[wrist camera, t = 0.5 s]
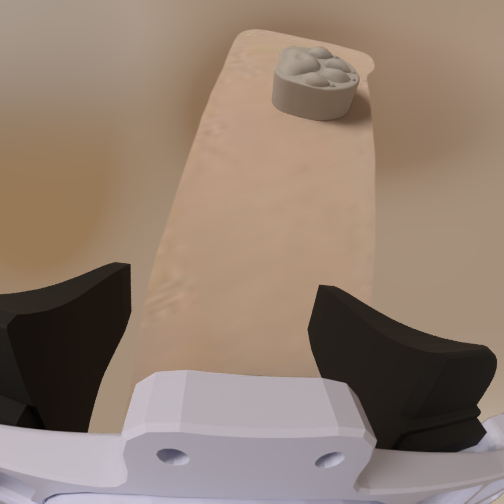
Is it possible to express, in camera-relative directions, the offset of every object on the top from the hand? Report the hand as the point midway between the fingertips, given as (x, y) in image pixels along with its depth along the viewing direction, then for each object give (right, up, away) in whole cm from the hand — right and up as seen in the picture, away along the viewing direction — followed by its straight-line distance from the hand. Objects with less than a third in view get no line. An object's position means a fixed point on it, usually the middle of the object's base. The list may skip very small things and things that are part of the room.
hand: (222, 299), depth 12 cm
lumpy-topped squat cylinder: (+11, +28, +37) cm, 48 cm away
